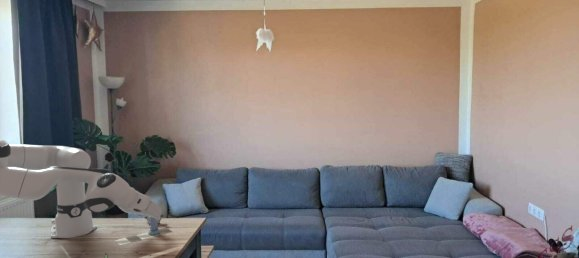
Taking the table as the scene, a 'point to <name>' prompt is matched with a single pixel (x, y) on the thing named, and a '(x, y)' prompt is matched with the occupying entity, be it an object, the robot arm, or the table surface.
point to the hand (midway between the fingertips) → (150, 217)
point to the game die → (157, 220)
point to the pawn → (153, 227)
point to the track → (141, 237)
